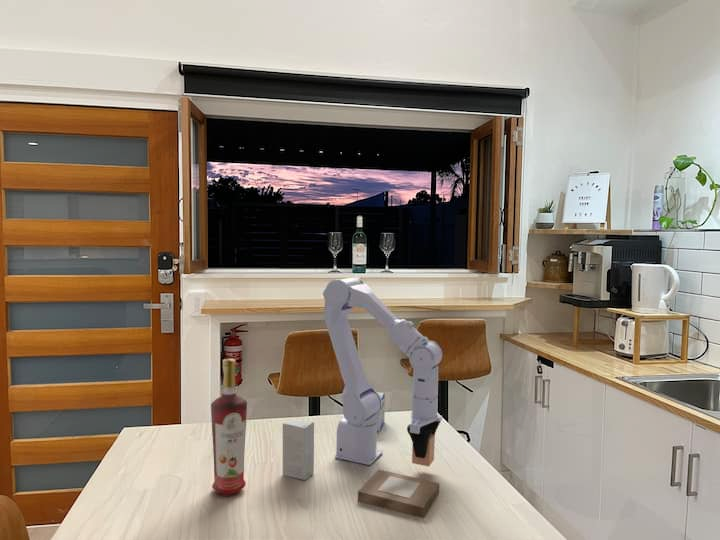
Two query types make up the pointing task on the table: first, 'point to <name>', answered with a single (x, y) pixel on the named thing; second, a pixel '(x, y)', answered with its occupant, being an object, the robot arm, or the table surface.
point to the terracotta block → (429, 453)
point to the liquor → (229, 435)
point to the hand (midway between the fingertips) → (423, 453)
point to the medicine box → (381, 412)
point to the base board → (399, 492)
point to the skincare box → (298, 448)
